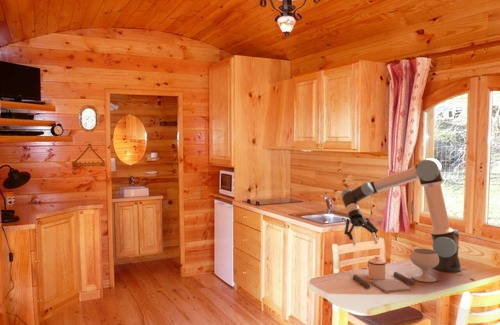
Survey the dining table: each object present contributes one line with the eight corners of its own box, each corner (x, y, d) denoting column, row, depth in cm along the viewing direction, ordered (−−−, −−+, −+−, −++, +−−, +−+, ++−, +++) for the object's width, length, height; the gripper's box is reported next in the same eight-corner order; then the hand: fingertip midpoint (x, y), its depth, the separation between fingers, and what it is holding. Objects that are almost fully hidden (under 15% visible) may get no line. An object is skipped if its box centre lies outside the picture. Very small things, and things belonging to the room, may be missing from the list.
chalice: (406, 279, 220) (406, 251, 219) (415, 273, 231) (416, 246, 230) (433, 285, 211) (434, 256, 210) (442, 278, 221) (443, 251, 220)
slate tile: (394, 280, 217) (394, 278, 217) (410, 290, 204) (410, 288, 204) (370, 282, 214) (370, 280, 214) (385, 292, 201) (385, 290, 201)
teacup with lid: (389, 279, 220) (389, 257, 219) (375, 281, 216) (375, 259, 216) (374, 272, 231) (375, 251, 230) (361, 274, 228) (361, 253, 227)
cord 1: (352, 279, 220) (352, 274, 220) (356, 278, 221) (357, 274, 221) (366, 289, 206) (366, 284, 205) (371, 288, 206) (371, 284, 206)
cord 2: (393, 276, 226) (393, 271, 225) (397, 275, 226) (397, 271, 226) (410, 285, 211) (410, 281, 211) (414, 285, 211) (414, 280, 211)
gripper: (370, 215, 252) (383, 246, 239) (332, 217, 247) (343, 248, 233) (375, 208, 247) (388, 239, 233) (336, 209, 242) (347, 241, 228)
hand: (365, 243), depth 233 cm, fingers open, 13 cm apart
